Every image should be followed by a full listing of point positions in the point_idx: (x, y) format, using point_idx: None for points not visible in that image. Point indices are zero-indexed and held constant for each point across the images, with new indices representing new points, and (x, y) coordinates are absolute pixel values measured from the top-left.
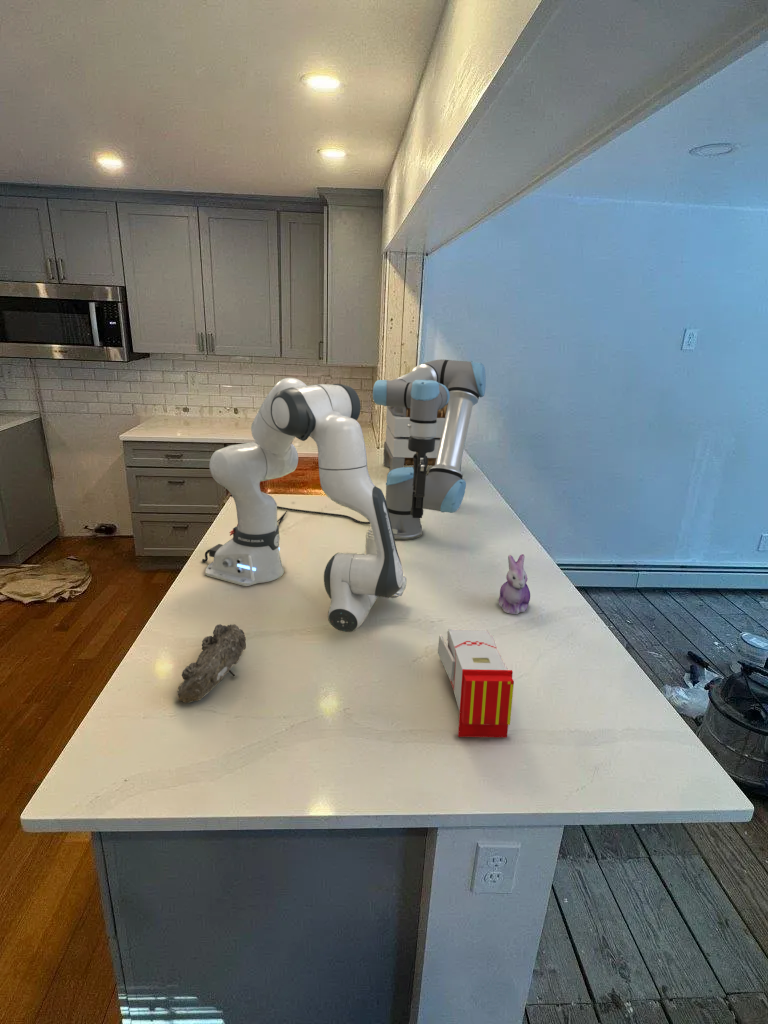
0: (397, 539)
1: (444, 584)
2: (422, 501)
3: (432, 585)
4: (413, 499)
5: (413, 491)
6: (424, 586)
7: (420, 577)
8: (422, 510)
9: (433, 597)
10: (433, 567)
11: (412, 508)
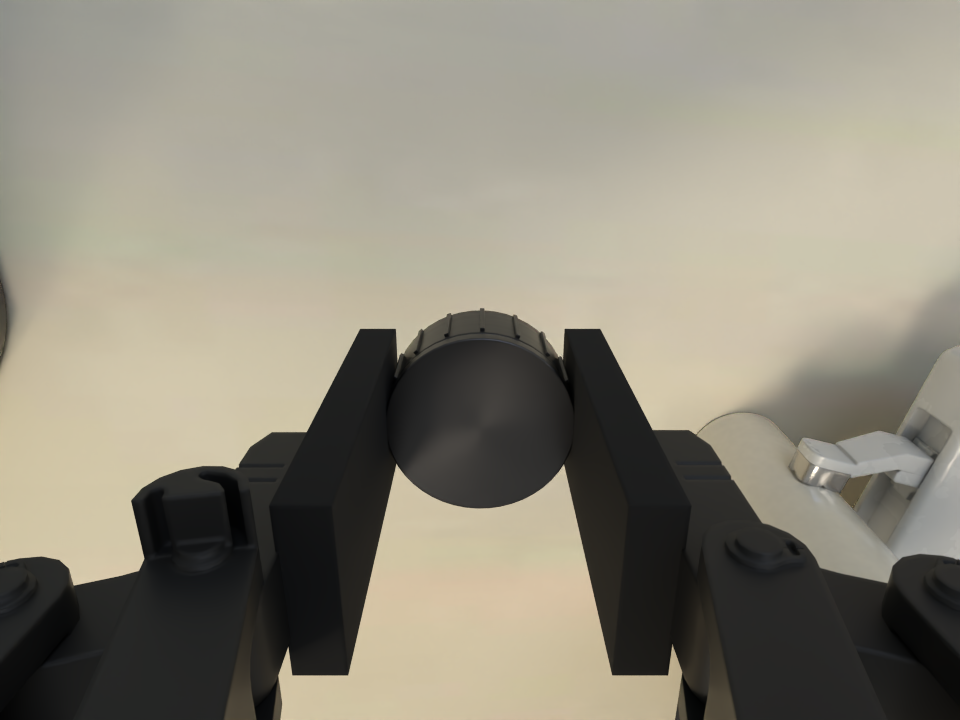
0: (4, 311)
1: (691, 28)
2: (663, 460)
3: (701, 119)
4: (373, 550)
5: (304, 665)
6: (711, 174)
7: (585, 190)
8: (538, 353)
9: (861, 129)
10: (426, 81)
11: (473, 488)
